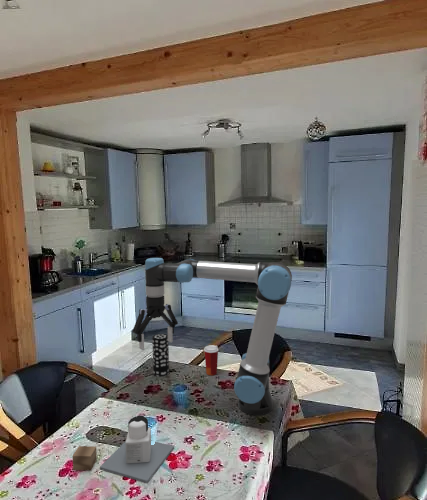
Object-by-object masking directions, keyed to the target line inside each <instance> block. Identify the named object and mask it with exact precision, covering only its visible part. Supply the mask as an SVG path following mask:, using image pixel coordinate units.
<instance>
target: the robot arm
mask: <svg viewBox="0 0 427 500" xmlns="http://www.w3.org/2000/svg"><path fill="white" fill-rule="evenodd" d="M144 265H145V267H144V273H145V295H146V297H145V305H146V308H145V309H143V308H140V309H139V311H138V316H137V318H136V321H135V323H134V326H133V328H132V331H131V332H132V333H133V334H135V335H136V338H137V339H136V340H137V342H138V345H139V346H138V348H139V349H140V350H141V351H144V350H145V334H144V333H143V332H144V331H145V329H146V328H147V326H148V325H149V323H150V322H151V321H152V319H157V318H159V319H160V318H162V319H163V320H164V321H165V323H167V325H168V326H167V335H168V343H171V344H172V343H173V342H174V341H173V340H174V339H173V338H174V337H173V335H174V334H175V327H176V325H178V324H179V323H178V320H177V318H176V316H175V314H174V312H173V310H172V305H171V304H169V303H165V283H181V284H184V283H190V282H192V280H193V279H194V278H195V279H208V280H219V281H221V280H222V281H230V282H231V281H232V282H246V283H255V284H256V285H257V289H256V295H255V298H256V299H257V301H258V302H257V307H256V311H255V316H254V319H253V320H254V321H253V324H252V328H251V333H250V337H249V342H248V345H247V347H248V348H247V350H246V352H245V353H243V354H242V357H241V361H240V362H239V363H240V364H239V366H238V367H239V368H238V372H237V376H236V379H235V381H234V384H233V385H234V387H233V389H234V393H235V395H236V396H237V398H238V399H237V406H238V408H239V410H240V411H242V412H243V413H245V414H249V415H253V416H254V415H255V416H261V415H266V414H268V413H270V412H271V411H273V409H274V400H273V397H272V395H271V394H272V393H271V391H270V370H271V369H270V354H271V350H272V346H273V341H274V336H275V334H276V330H277V329H276V328H277V325H278V320H279V317H280V312H281V308H282V307H284V306H286V304H287V300H288V297H289V291H291V286H292V280H293V275H292V271H291V269H290V268H289V267H288V266H287V265H286V264H284V263H282V262H279V261H278V262H263V261H262V262H261V261H259V262H257V264H253V263H238V262H237V263H236V262H226V261H225V262H223V261H209V260H196V259H192V258H186V259H184V260H182V261H180V262H177V263H167V262H166V263H165V262H164V259H163V257H150V258H147V259H146V260H145V263H144ZM164 311H166V312H167V314H168V316H169V317H168V316H167V314H166V313H165V312H164Z"/></svg>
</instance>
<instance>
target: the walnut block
mask: <svg viewBox="0 0 427 500" xmlns="http://www.w3.org/2000/svg"><path fill="white" fill-rule="evenodd" d="M97 455H98V454H97V446H88V445H87V446H85V445H82V446H81V445H80V446H78V447H77V448H76V450H75V452H74V453H73V454H72V470H73V471H92V469H93V468H94V466H95V464H96V462H97V461H98V457H97Z"/></svg>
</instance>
